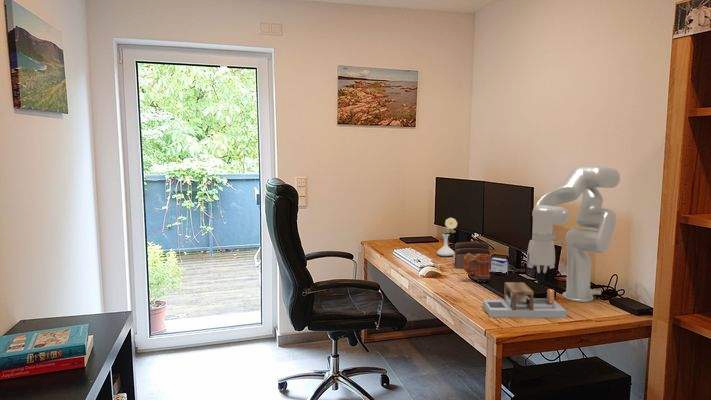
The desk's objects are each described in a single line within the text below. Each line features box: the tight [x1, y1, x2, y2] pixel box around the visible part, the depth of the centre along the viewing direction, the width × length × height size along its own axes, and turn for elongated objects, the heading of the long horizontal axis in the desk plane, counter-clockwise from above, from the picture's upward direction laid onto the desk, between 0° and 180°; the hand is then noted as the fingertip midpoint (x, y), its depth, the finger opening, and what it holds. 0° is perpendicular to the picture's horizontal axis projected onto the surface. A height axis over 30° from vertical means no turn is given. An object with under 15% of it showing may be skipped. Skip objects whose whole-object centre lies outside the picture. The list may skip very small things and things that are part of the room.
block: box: [511, 293, 528, 304], centre depth 185 cm, size 5×5×5 cm
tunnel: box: [503, 281, 535, 310], centre depth 185 cm, size 8×13×8 cm, turn 176°
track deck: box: [482, 299, 567, 319], centre depth 186 cm, size 30×13×3 cm, turn 86°
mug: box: [463, 253, 492, 280], centre depth 229 cm, size 15×8×15 cm, turn 92°
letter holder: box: [454, 241, 492, 270], centre depth 260 cm, size 10×20×14 cm, turn 81°
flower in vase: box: [436, 217, 458, 257], centre depth 289 cm, size 13×11×25 cm
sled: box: [506, 288, 556, 308], centre depth 185 cm, size 18×8×6 cm, turn 86°
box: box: [490, 257, 509, 273], centre depth 244 cm, size 8×4×9 cm, turn 51°
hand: (540, 281), depth 184 cm, fingers closed
